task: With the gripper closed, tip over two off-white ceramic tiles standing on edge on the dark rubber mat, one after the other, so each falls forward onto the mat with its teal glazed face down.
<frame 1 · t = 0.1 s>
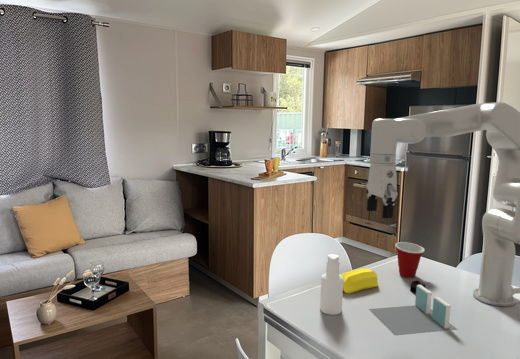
hand: (379, 214, 126), 31 cm above the table, tool pointing down, fingers open, 9 cm apart
mat: (410, 319, 123), on the table
black slotted bracket: (417, 295, 142), on the table
tile b: (439, 323, 120), resting on mat
tile a: (422, 309, 129), resting on mat
spray bottle: (330, 310, 128), on the table
plastic cup: (407, 276, 159), on the table
yellow faceted bar: (357, 289, 146), on the table
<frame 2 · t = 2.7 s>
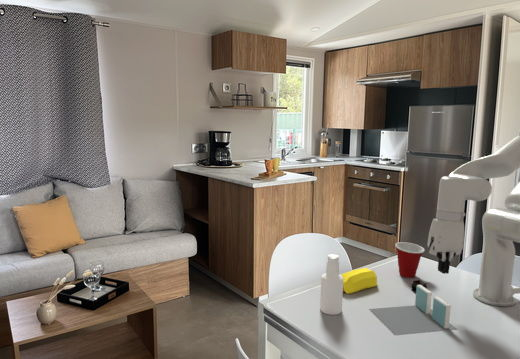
hand: (443, 271, 129), 13 cm above the table, tool pointing down, fingers closed
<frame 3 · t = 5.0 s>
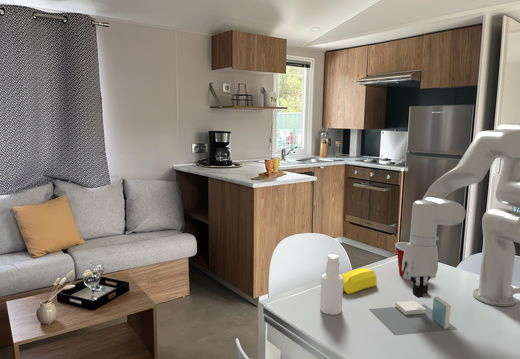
hand: (417, 295, 128), 5 cm above the table, tool pointing down, fingers closed
tile a: (420, 307, 129), point 1 cm above the table, tilted 90°, touching mat
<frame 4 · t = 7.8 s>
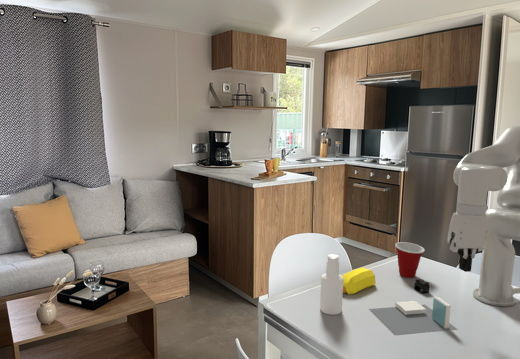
hand: (464, 269, 119), 17 cm above the table, tool pointing down, fingers closed
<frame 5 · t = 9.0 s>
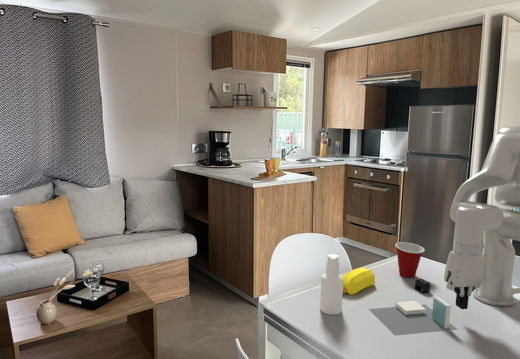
hand: (461, 307, 121), 5 cm above the table, tool pointing down, fingers closed
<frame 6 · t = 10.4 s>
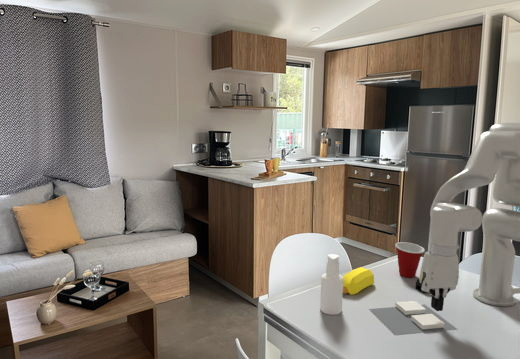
hand: (436, 308, 119), 5 cm above the table, tool pointing down, fingers closed
tile b: (437, 320, 120), point 1 cm above the table, tilted 90°, touching mat
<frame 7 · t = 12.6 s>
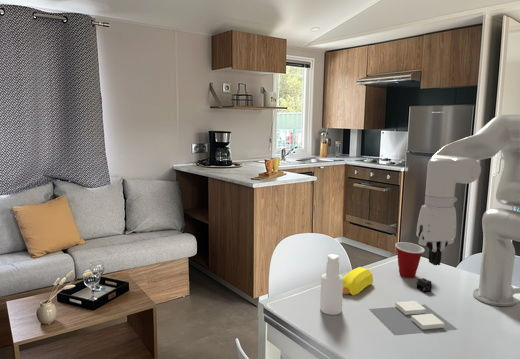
hand: (434, 263, 117), 19 cm above the table, tool pointing down, fingers closed
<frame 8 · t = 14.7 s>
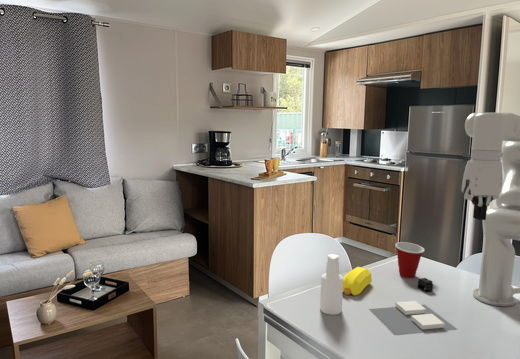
hand: (479, 218, 118), 32 cm above the table, tool pointing down, fingers closed
at the end: tile a tilted 90°; tile b tilted 90°; tile a inside the target area (8.4 cm from its centre), point 1.2 cm above the table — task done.
